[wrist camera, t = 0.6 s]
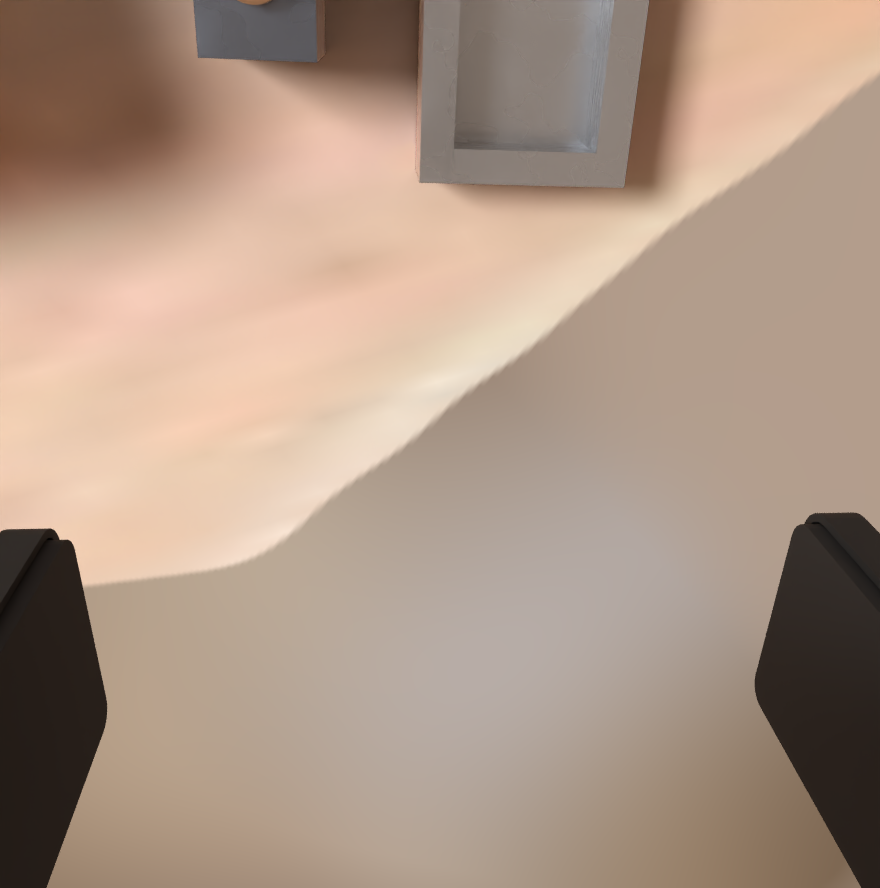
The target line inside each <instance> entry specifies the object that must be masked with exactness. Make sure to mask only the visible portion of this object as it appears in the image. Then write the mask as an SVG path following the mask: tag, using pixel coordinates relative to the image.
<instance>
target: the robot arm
mask: <svg viewBox="0 0 880 888" xmlns="http://www.w3.org/2000/svg"><path fill="white" fill-rule="evenodd" d="M755 692H756V696H757V700H758V703H759V705H760V707H761V709H762V711H763V713H764V714H765V716H766V718H767V720H768V721H769V723H770V725H771V727H772V728H773V730H774V732H775V734H776V736H777V737H778V739H779V741H780V743H781V745H782V747H783V748H784V750H785V752H786V753H787V755H788V757H789V759H790V761H791V762H792V764H793V766H794V768H795V770H796V772H797V773H798V775H799V777H800V779H801V780H802V782H803V784H804V786H805V788H806V789H807V791H808V793H809V795H810V797H811V798H812V800H813V802H814V804H815V805H816V807H817V809H818V811H819V813H820V815H821V816H822V818H823V820H824V821H825V823H826V825H827V827H828V829H829V831H830V832H831V834H832V836H833V837H834V840H835V841H836V843H837V845H838V847H839V848H840V850H841V852H842V854H843V856H844V857H845V859H846V861H847V863H848V865H849V866H850V868H851V870H852V872H853V874H854V875H855V877H856V879H857V881H858V882H859V884H860V886H861V888H880V533H879V532H878V531H877V530H876V529H875V528H874V527H873V526H872V525H871V524H870V523H869V522H868V521H867V520H866V519H865V518H864V517H863V516H861V515H860V514H858V513H815V514H812V515H810V516H809V517H808V519H807V520H806V522H805V524H801V525H799V526H797V527H796V528H795V529H794V531H793V534H792V537H791V541H790V546H789V549H788V553H787V557H786V560H785V564H784V568H783V572H782V576H781V579H780V584H779V587H778V591H777V595H776V599H775V603H774V606H773V610H772V614H771V618H770V622H769V626H768V629H767V633H766V637H765V641H764V645H763V649H762V653H761V656H760V660H759V664H758V668H757V672H756V676H755ZM106 718H107V701H106V695H105V690H104V685H103V681H102V676H101V671H100V667H99V662H98V657H97V652H96V648H95V643H94V638H93V634H92V629H91V625H90V620H89V615H88V610H87V605H86V601H85V596H84V591H83V586H82V582H81V577H80V572H79V568H78V563H77V558H76V553H75V549H74V546H73V544H72V542H71V541H69V540H59V537H58V535H57V533H56V532H55V531H54V530H53V529H7V530H3V531H1V532H0V888H46V887H47V885H48V882H49V879H50V876H51V874H52V871H53V868H54V865H55V863H56V860H57V857H58V854H59V852H60V849H61V846H62V844H63V841H64V838H65V835H66V833H67V830H68V827H69V825H70V822H71V819H72V816H73V813H74V811H75V808H76V805H77V802H78V800H79V797H80V794H81V792H82V789H83V786H84V783H85V781H86V778H87V775H88V773H89V770H90V767H91V764H92V762H93V759H94V756H95V753H96V751H97V748H98V745H99V742H100V740H101V737H102V734H103V731H104V728H105V723H106Z"/></svg>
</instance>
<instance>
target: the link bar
mask: <svg viewBox="0 0 880 888" xmlns="http://www.w3.org/2000/svg"><path fill="white" fill-rule="evenodd" d="M193 1H194V14H195V26H196V38H197V51H198V58H220V59H245V60H269V61H293V62H318V61H319V60H320V59H321V58H322V57H323V56H324V55H325V54H326V47H325V0H193Z"/></svg>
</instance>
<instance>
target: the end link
mask: <svg viewBox="0 0 880 888" xmlns="http://www.w3.org/2000/svg"><path fill="white" fill-rule="evenodd" d="M648 6H649V0H419V40H418V82H417V123H416V165H415V169H416V173H417V176H418V179H419V183H451V184H490V185H528V186H567V187H605V188H624V185H625V177H626V170H627V162H628V155H629V148H630V140H631V133H632V125H633V118H634V110H635V103H636V95H637V88H638V81H639V73H640V66H641V58H642V51H643V43H644V36H645V28H646V21H647V13H648Z"/></svg>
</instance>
